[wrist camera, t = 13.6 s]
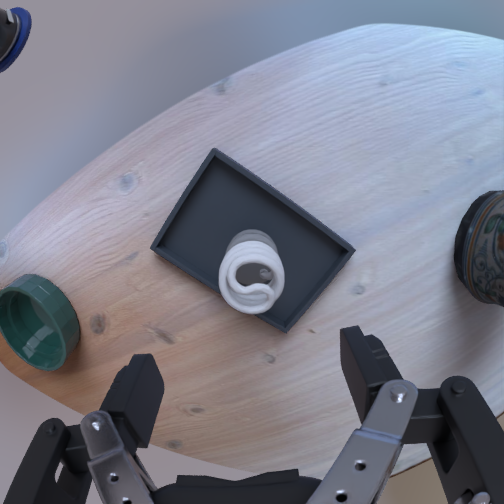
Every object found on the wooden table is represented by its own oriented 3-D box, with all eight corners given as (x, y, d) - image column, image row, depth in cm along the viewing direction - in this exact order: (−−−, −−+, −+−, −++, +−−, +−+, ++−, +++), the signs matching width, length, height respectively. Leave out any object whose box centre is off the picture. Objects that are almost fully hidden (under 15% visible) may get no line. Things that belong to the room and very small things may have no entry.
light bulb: (217, 249, 36) (201, 297, 24) (246, 210, 34) (243, 242, 23) (256, 277, 37) (258, 333, 25) (287, 240, 35) (302, 285, 24)
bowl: (7, 318, 40) (-9, 332, 36) (21, 255, 37) (1, 267, 32) (68, 367, 43) (56, 385, 38) (91, 310, 39) (76, 329, 35)
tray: (154, 243, 36) (149, 248, 34) (215, 147, 33) (212, 147, 31) (284, 325, 40) (285, 333, 38) (351, 245, 36) (356, 250, 34)
